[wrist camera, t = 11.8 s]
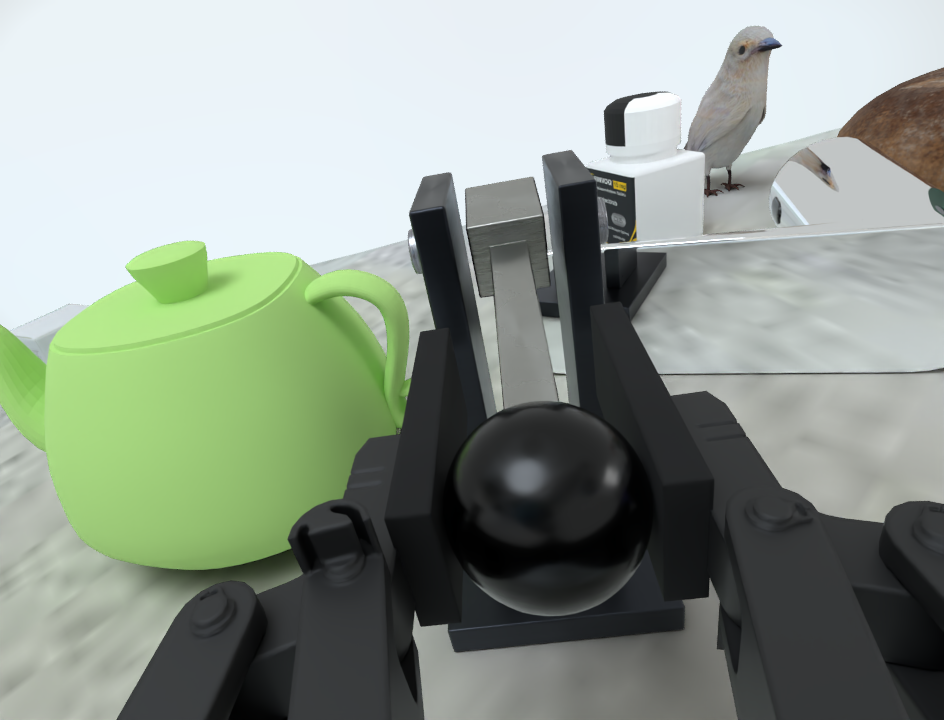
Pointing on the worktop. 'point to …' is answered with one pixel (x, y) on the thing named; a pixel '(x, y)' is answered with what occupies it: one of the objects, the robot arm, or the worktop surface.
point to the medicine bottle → (649, 171)
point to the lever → (538, 445)
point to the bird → (733, 102)
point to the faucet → (792, 277)
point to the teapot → (209, 402)
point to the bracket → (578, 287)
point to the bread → (907, 125)
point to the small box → (46, 329)
